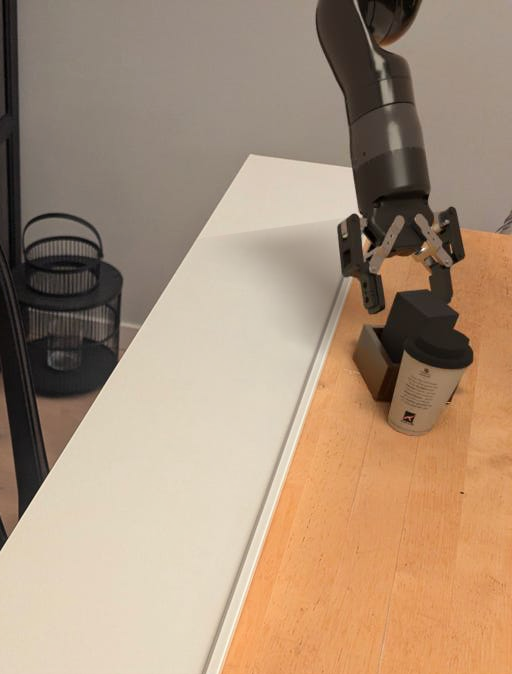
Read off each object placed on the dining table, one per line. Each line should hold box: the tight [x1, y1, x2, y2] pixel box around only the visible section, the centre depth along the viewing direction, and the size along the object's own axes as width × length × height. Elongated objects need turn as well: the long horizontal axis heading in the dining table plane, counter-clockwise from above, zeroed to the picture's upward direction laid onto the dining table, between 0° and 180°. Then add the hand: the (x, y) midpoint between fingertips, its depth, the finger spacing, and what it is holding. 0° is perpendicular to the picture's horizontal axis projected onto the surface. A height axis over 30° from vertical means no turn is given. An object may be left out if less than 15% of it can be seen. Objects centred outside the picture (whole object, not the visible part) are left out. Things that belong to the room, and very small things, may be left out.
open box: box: [352, 323, 462, 403], centre depth 104 cm, size 9×10×4 cm
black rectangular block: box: [380, 288, 461, 364], centre depth 102 cm, size 4×6×8 cm, turn 17°
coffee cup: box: [386, 327, 474, 437], centre depth 95 cm, size 7×7×10 cm
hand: (410, 308), depth 101 cm, fingers open, 8 cm apart
